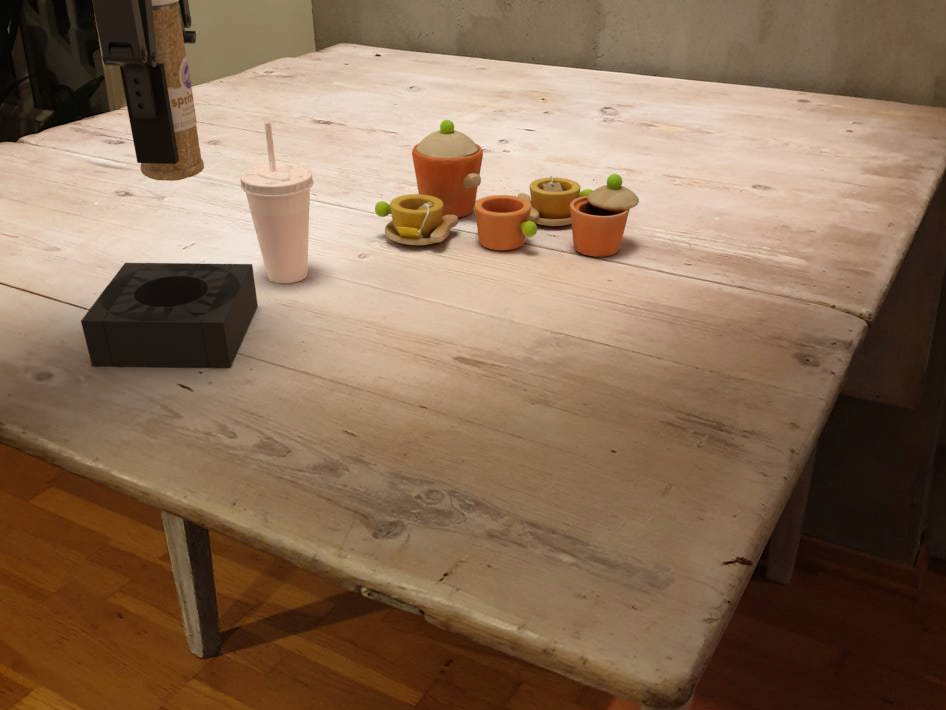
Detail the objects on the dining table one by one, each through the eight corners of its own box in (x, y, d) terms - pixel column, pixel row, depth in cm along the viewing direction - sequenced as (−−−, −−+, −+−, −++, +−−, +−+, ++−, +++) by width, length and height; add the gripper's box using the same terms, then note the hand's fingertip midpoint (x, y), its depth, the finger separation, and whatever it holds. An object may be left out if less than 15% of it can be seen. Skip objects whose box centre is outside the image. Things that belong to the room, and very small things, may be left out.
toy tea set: (368, 249, 96) (362, 152, 91) (403, 195, 109) (400, 107, 103) (632, 268, 93) (642, 169, 87) (636, 210, 105) (646, 121, 100)
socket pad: (91, 366, 77) (80, 320, 74) (133, 304, 86) (124, 262, 83) (230, 367, 76) (223, 322, 74) (258, 305, 86) (252, 263, 83)
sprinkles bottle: (206, 180, 69) (176, -27, 62) (139, 184, 68) (101, -25, 61) (203, 160, 73) (175, -38, 65) (140, 164, 72) (104, -36, 64)
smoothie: (302, 256, 95) (287, 109, 87) (334, 278, 90) (321, 127, 82) (241, 271, 91) (220, 121, 84) (271, 295, 87) (252, 140, 79)
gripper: (118, -252, 49) (187, 194, 63) (205, -244, 64) (247, 117, 77) (-29, -255, 49) (72, 191, 63) (92, -247, 64) (153, 114, 77)
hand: (168, 149), depth 70 cm, fingers closed on sprinkles bottle, 4 cm apart
